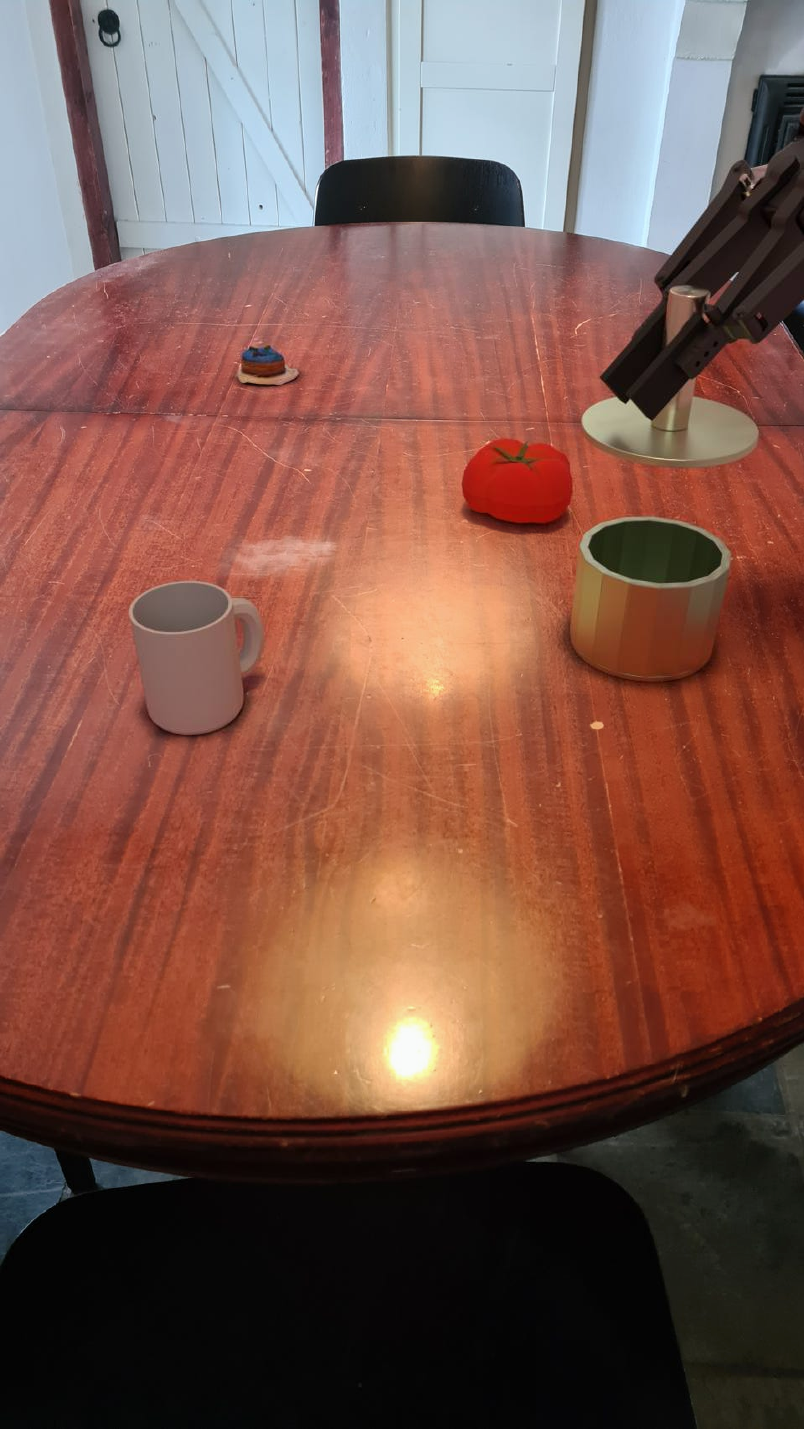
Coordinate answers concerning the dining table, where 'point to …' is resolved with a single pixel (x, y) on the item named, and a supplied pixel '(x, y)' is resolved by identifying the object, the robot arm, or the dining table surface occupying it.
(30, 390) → the dining table surface
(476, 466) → the tomato
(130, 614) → the cup
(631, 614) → the round metal container
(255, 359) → the dessert
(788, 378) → the dining table surface
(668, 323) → the lid
